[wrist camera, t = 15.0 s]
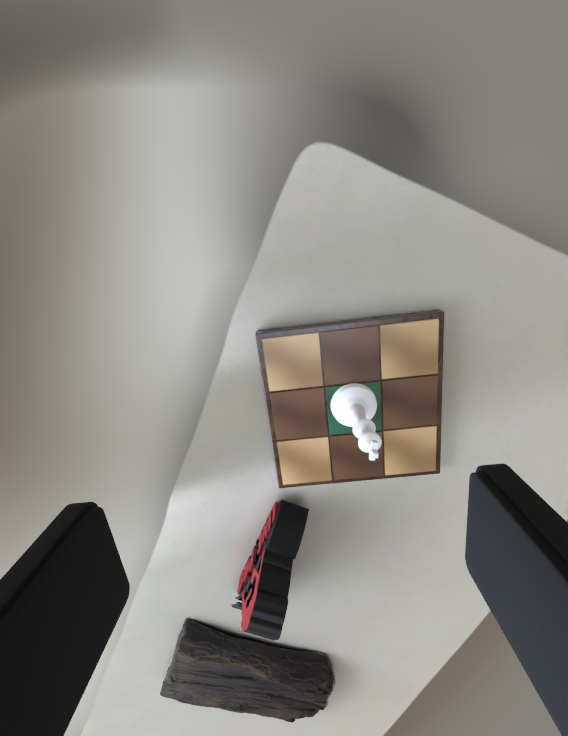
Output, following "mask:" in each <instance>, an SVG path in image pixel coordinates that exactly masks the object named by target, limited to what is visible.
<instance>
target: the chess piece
mask: <svg viewBox="0 0 568 736" xmlns="http://www.w3.org/2000/svg"><path fill="white" fill-rule="evenodd" d="M376 409H377V401H376V397H375V395H374V393H373V391H372V390H371V389H370V388H368V387H367V386H365V385H362V384H358V383H351V384H347V385H344V386H342V387H341V388H339V389H338V390H337V391H336V392H335V394H334V395H333V397H332V400H331V411H332V414H333V415H334V417H335V418H336V420H337V421H338V422H340V423H341V424H343V425H345V426H349V427H353V434H354V435H355V436H356V437H357V438H358V446H359V448H360V449H361V450H362V451H363V452H366V453H369V460H372V461H375V458H378V455H379V453H378V451H377V450H378V449H379V448H380V447H381V444H382V440H381V437H380V436H379V435H378V434H377V433H376V432H375V431H376V426H375V424H374V422H373V421H371V419H372V418H373V416H374V415H375V413H376Z"/></svg>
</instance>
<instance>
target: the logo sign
mask: <svg viewBox="0 0 568 736" xmlns="http://www.w3.org/2000/svg"><path fill="white" fill-rule="evenodd" d="M308 512H309V509H307V508H304V507H301V506H298V505H296V504H293V503H290V502H287V501H284V500H281V503H278V502H275V504H274V506H273V508H272V511H271V512H270V515H269V517H268V519H267V521H266V524H265V525H264V527H263V529H262V531H261V533H260V536H259V540H258V539H257V541H256V546H254V548H253V551H252V557H249V559H248V561H247V563H246V565H245V570H244V569H243V571H242V573H241V576H240V580H239V586H238V594H240V595H239V596H238V597H235V598H236V599H238V600H241V601H242V603H240V602H237V603H236V604H234V605H233V604H232V607H234V608H237V609H240V610H242V623H241V628H242V631H244V632H247V633H251V634H254V635H258V636H261V637H264V638H268V639H271V640H278V639H279V637H280V635H281V631H282V625H283V623H284V619H285V614H286V610H287V605H288V592H289V586H290V577H291V568H292V562H293V559H295V557H296V555H297V552H298V549H299V546H300V543H301V539H302V536H303V532H304V529H305V525H306V521H307V516H308Z"/></svg>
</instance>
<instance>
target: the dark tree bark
mask: <svg viewBox="0 0 568 736" xmlns="http://www.w3.org/2000/svg"><path fill="white" fill-rule="evenodd" d="M334 684H335V675H334V672H333V668H332V665H331V663H330V661H329V659H328V657H327V656H326V654H323V653H320V652H313V651H312V652H308V651H303V652H301V651H294V650H290V649H283V648H277V647H274V646H270V645H266V644H263V643H259V642H255V641H251V640H246V639H241V638H236V637H231V636H228V635H226V634H224V633H222V632H220V631H218V630H215V629H211V628H208V627H205V626H204V625H201V624H199V623H196V622H195V621H193V620H191V619H188V618H187V619H185V622H184V625H183V628H182V631H181V633H180V635H179V637H178V641H177V644H176V649H175V652H174V656H173V661H172V664H171V666H170V667H169V668H168V672H167V676H166V678H165V679H164V681H163V686H162V689H161V693H160V695H161V696H164V697H167V698H172V699H175V700H177V701H179V702H182V703H188V704H192V705H197V706H205V707H215V708H221V709H224V710H228V711H233V712H239V713H251V714H258V715H261V716H267V717H274V718H278V719H283V720H285V721H288V722H294V721H295V719H299V718H304V717H313V716H314V715H315V714H316V713H318V711H319V710H324V708H325V707H326V706H327V705H328V698H329V695H331V692H332V690H333V687H334Z"/></svg>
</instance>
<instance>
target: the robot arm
mask: <svg viewBox="0 0 568 736" xmlns="http://www.w3.org/2000/svg"><path fill="white" fill-rule="evenodd" d="M465 559H466V564H467V568H468V570H469V573H470V575H471V576H472V578H473V580H474V582H475V583H476V585H477V587H478V589H479V590H480V592H481V594H482V596H483V597H484V599H485V601H486V603H487V605H488V606H489V608H490V610H491V612H492V613H493V615H494V617H495V619H496V620H497V622H498V624H499V626H500V627H501V629H502V631H503V632H504V634H505V636H506V638H507V640H508V641H509V643H510V645H511V647H512V649H513V650H514V652H515V654H516V655H517V657H518V659H519V661H520V662H521V664H522V666H523V668H524V669H525V671H526V673H527V675H528V677H529V678H530V680H531V682H532V684H533V685H534V687H535V689H536V691H537V693H538V694H539V696H540V698H541V700H542V701H543V703H544V705H545V707H546V708H547V710H548V712H549V714H550V715H551V717H552V719H553V721H554V722H555V724H556V726H557V728H558V730H559V731H560V733H561V735H562V736H568V523H567V522H566V521H565V520H564V519H563V518H562V517H561V516H560V515H559V514H558V513H557V512H556V511H555V510H554V509H552V508H551V507H550V506H549V505H548V504H547V503H546V502H545V501H544V500H543V499H542V498H541V497H540V496H539V495H538V494H537V493H536V492H535V491H534V490H533V489H532V488H531V487H530V486H529V485H527V484H526V483H525V482H524V481H523V480H522V479H521V478H520V477H519V476H518V475H517V474H516V473H515V472H514V471H513V470H512V469H511V468H510V467H509V466H507V465H506V464H494V465H483V466H479V467H478V468H477V469H476V472H475V473H471V475H470V483H469V500H468V518H467V535H466V552H465ZM128 596H129V582H128V579H127V576H126V573H125V570H124V568H123V565H122V562H121V559H120V556H119V553H118V550H117V548H116V544H115V542H114V539H113V536H112V533H111V530H110V527H109V525H108V522H107V519H106V516H105V513H104V511H103V509H102V508H101V507H98V506H97V504H96V503H94V502H86V503H74V504H69V505H67V506H66V507H65V508H64V509H63V510H62V511H61V512H60V514H59V515H58V516H57V517H56V518H55V519H54V520H53V521H52V523H51V524H50V525H49V526H48V527H47V528H46V529H45V531H43V533H42V534H41V535H40V536H39V537H38V538H37V539H36V540H35V542H34V543H33V544H32V545H31V546H30V547H29V548H28V549H27V551H26V552H25V553H24V554H23V555H22V556H21V557H20V559H19V560H18V561H17V562H16V563H15V564H14V565H13V566H12V567H11V569H10V570H9V571H8V572H7V573H6V574H5V575H4V577H2V579H1V580H0V736H64V733H65V731H66V729H67V727H68V725H69V723H70V720H71V718H72V716H73V714H74V712H75V710H76V708H77V706H78V704H79V701H80V699H81V697H82V695H83V693H84V691H85V689H86V686H87V685H88V682H89V680H90V678H91V676H92V674H93V672H94V670H95V668H96V665H97V663H98V661H99V659H100V657H101V655H102V653H103V651H104V648H105V646H106V644H107V642H108V640H109V638H110V636H111V634H112V631H113V629H114V627H115V625H116V623H117V621H118V619H119V617H120V614H121V612H122V610H123V608H124V606H125V604H126V602H127V599H128Z"/></svg>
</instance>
